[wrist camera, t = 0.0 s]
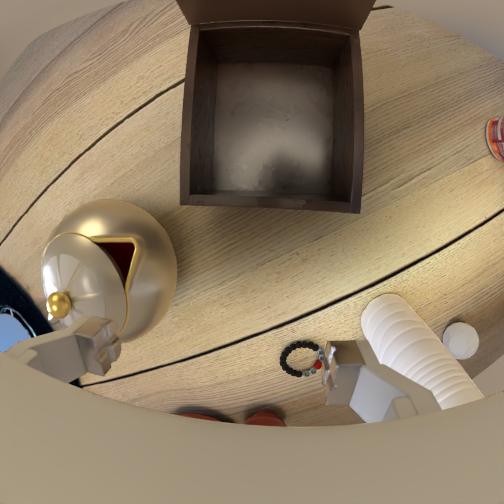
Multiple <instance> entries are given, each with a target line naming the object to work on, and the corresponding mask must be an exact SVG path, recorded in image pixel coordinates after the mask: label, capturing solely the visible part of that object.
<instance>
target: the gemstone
mask: <svg viewBox="0 0 504 504" xmlns="http://www.w3.org/2000/svg"><path fill="white" fill-rule="evenodd" d="M443 344H444V345H445V346H446V348H447V349H448V350H449V352H450V353H451V354H452V356H453V357H454V358H456V359H466V358H469V357H471V356H472V355H473V354H474V353H475V352H476V351H477V349H478V345H479V338H478V334H477V333H476V331H475V329H474V328H473V327H471V326H470V325H469V324H466V323H462V322H459V323H453V324H452V325H450V326H449V327H447V329H446V330H445V332H444V334H443Z"/></svg>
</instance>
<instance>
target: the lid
mask: <svg viewBox="0 0 504 504" xmlns="http://www.w3.org/2000/svg"><path fill="white" fill-rule="evenodd" d="M176 1H177V3H178V5H179V7H180V9H181V11H182V12H183V14H184V16H185V18H186V20H187V22H188V24H189V25H192V24H200V23H210V22H222V21H241V20H277V21H296V22H307V23H317V24H325V25H332V26H339V27H345V28H351V29H356V30H361V29H362V27H363V25H364V23H365V21H366V19H367V17H368V15H369V13H370V11H371V9H372V7H373V5H374V3H375V1H376V0H176Z"/></svg>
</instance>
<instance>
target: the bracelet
mask: <svg viewBox="0 0 504 504" xmlns="http://www.w3.org/2000/svg"><path fill="white" fill-rule="evenodd" d="M301 347H303V348H307V347H308V348H309V349H312V350H313V351H317V350H318V353H319V354H320V355H319V360H317V361H316V362H315V364H314V368H311V369H310V370H309V371H308V370H305V371H304V373H303V372H301V371H298V372H297V371H296V370H292V368H289V366H288V365H287V363H286V360H287V358H286V357H288V355H289V354H290V353H291V352H292V350H295V349H296V348H301ZM324 352H325V350H324V349H322V348H320V347H319V346H318V345H317V344H315V345H314V343H313V342H309V343H308V342H306V341H303V342H300V341H298V342H297V343H296V344H294V343H292V344H291V345H290V347H287V348H285V351H283V352H282V356H281V357H280V366H282V369H283V370H284V371H286V373H288V374H291V375H292V376H297V377H301V376H302V375H304V376H309V375H310V374H311V373H312V374H314V373H316V371H317V370H316V369H320V368H321V367H322V363H323V360H324V359H325V358H326V356H325V355H324ZM318 365H319V366H318Z"/></svg>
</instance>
